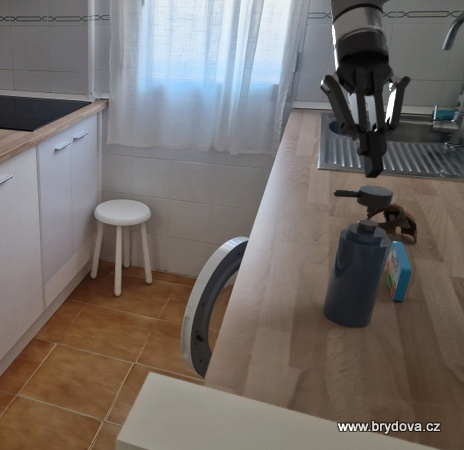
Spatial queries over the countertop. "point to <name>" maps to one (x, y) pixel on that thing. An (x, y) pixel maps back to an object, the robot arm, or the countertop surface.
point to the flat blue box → (398, 271)
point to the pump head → (369, 197)
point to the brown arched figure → (396, 221)
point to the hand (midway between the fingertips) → (374, 173)
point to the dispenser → (356, 274)
